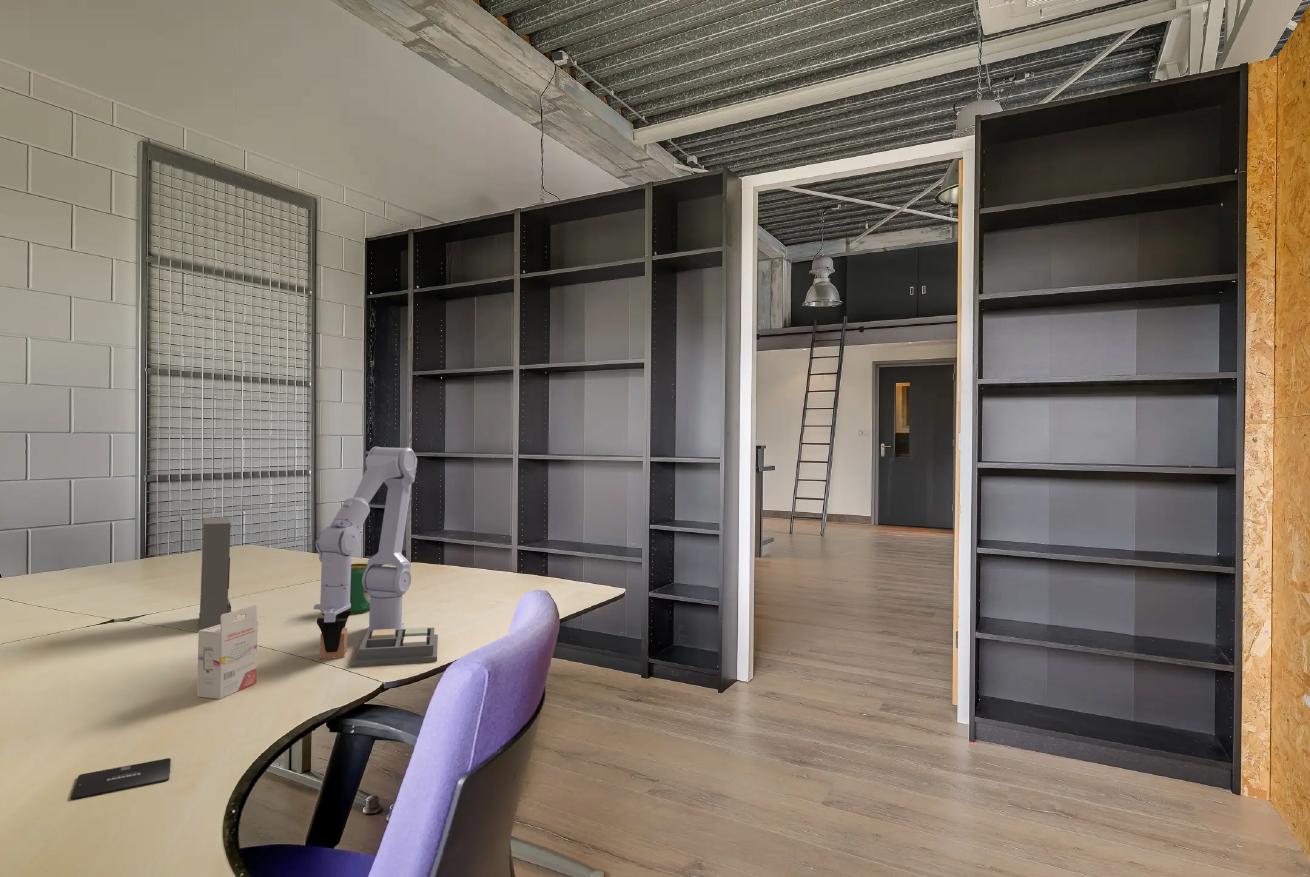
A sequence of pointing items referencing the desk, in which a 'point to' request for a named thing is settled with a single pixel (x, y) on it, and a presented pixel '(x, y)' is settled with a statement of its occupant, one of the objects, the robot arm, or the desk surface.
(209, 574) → the tall grey upright panel
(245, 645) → the ink cartridge box
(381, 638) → the frame board
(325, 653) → the terracotta block
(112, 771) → the solid state drive
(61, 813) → the desk surface
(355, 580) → the beverage can
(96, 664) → the desk surface
